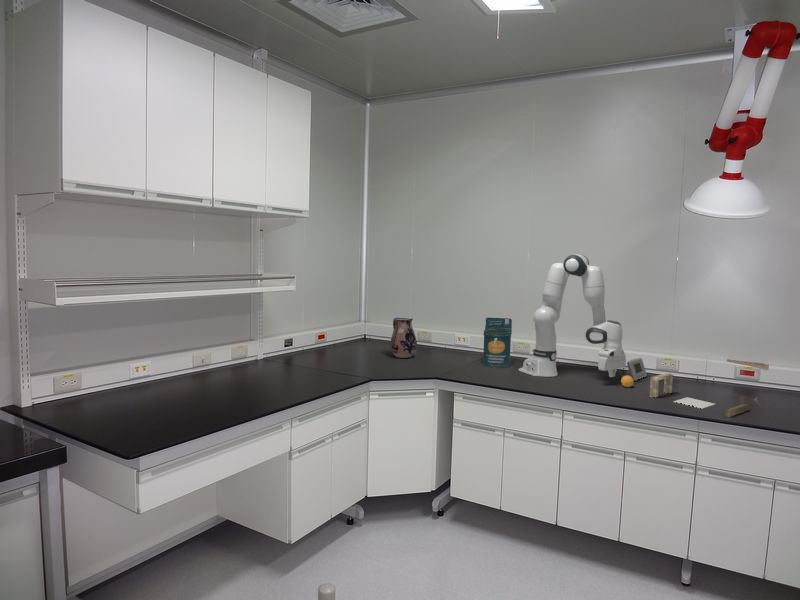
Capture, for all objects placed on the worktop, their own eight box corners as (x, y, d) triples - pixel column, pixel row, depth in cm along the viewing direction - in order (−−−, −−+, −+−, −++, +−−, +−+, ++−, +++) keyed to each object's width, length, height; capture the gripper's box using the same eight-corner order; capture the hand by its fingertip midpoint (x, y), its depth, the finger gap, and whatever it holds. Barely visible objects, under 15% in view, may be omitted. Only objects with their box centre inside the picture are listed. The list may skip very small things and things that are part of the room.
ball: (618, 386, 275) (618, 375, 274) (624, 384, 278) (625, 373, 278) (629, 389, 270) (629, 377, 269) (635, 387, 273) (636, 376, 273)
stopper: (724, 416, 227) (724, 410, 227) (742, 409, 238) (743, 403, 237) (729, 417, 226) (729, 411, 225) (747, 410, 236) (748, 404, 236)
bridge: (649, 396, 256) (650, 377, 255) (665, 392, 265) (667, 373, 264) (655, 398, 254) (656, 378, 253) (671, 393, 262) (673, 374, 261)
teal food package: (510, 363, 328) (512, 318, 326) (509, 368, 313) (510, 322, 310) (484, 361, 332) (485, 317, 330) (481, 366, 317) (483, 320, 314)
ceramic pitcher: (402, 360, 330) (402, 321, 328) (381, 355, 346) (381, 317, 344) (422, 357, 342) (423, 319, 340) (401, 352, 358) (401, 315, 355)
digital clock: (634, 382, 285) (635, 362, 284) (619, 378, 293) (620, 359, 292) (652, 378, 294) (653, 359, 293) (637, 375, 301) (638, 356, 300)
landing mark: (673, 401, 248) (673, 401, 248) (687, 397, 255) (687, 397, 255) (701, 408, 237) (701, 408, 237) (715, 404, 245) (715, 403, 245)
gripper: (618, 348, 288) (617, 373, 290) (596, 352, 277) (595, 378, 278) (629, 349, 283) (628, 375, 285) (606, 354, 272) (606, 380, 273)
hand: (612, 376), depth 281 cm, fingers closed
